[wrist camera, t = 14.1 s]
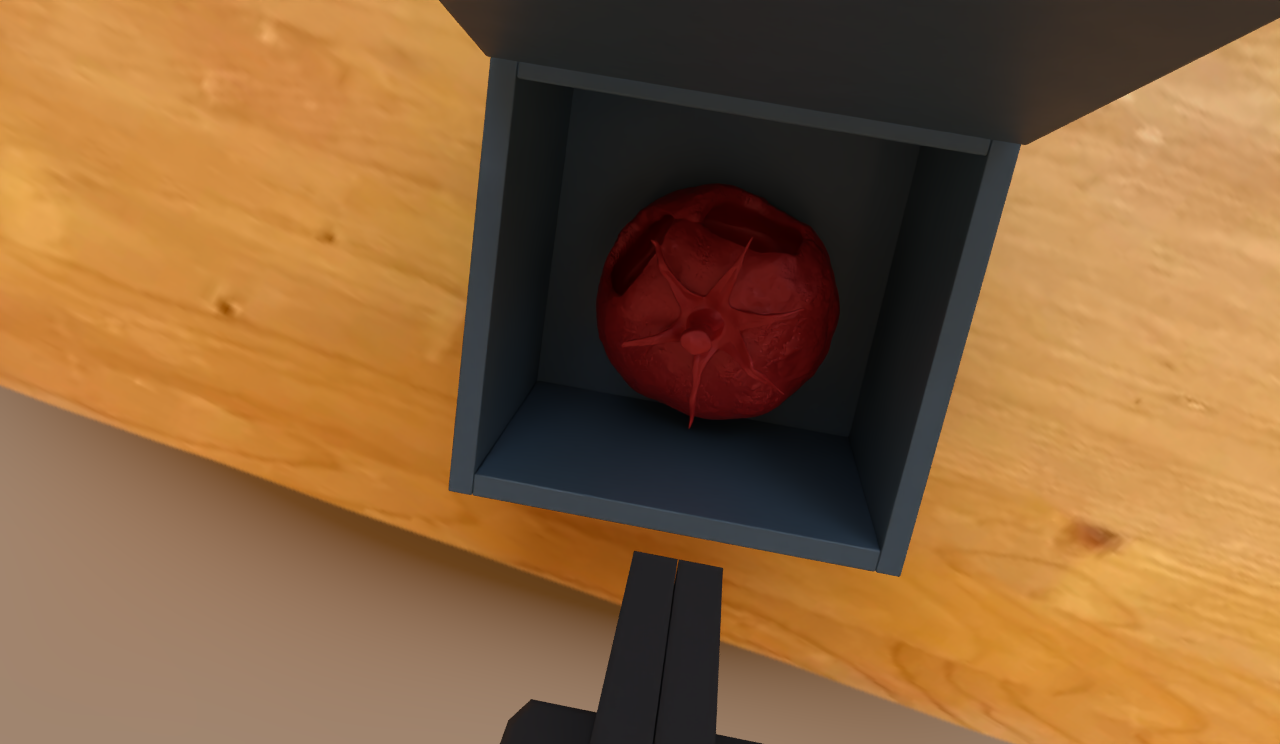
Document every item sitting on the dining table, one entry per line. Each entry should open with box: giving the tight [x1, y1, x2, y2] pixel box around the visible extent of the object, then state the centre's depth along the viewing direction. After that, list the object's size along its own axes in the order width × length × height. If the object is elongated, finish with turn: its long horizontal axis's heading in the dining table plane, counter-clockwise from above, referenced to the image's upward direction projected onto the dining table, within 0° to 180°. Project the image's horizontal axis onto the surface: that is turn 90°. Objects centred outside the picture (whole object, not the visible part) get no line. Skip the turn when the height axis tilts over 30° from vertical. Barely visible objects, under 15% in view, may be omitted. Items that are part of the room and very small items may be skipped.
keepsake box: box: [449, 57, 1021, 577], centre depth 37 cm, size 16×17×12 cm
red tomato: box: [596, 183, 840, 429], centre depth 38 cm, size 10×10×9 cm
